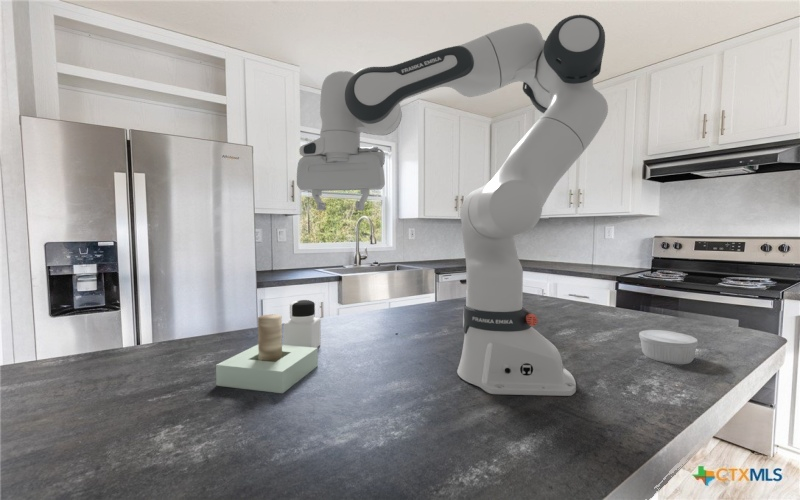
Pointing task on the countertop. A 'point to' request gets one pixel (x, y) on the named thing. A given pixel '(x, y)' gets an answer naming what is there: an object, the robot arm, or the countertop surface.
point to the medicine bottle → (302, 325)
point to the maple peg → (270, 337)
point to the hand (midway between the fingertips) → (340, 210)
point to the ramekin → (668, 346)
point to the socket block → (267, 369)
